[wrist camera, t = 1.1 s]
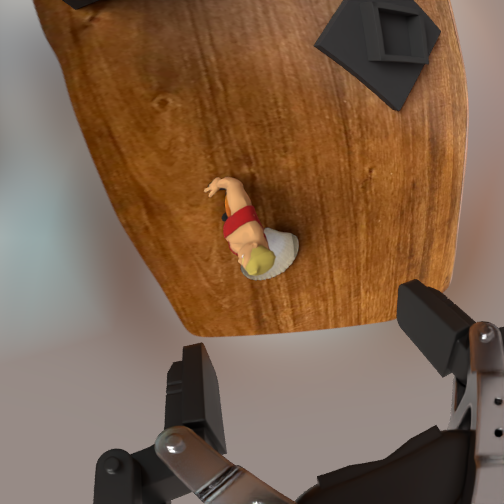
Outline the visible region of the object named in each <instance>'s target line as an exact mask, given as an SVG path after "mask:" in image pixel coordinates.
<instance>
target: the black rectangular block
mask: <svg viewBox="0 0 504 504" xmlns="http://www.w3.org/2000/svg"><path fill="white" fill-rule="evenodd" d="M63 1H64V2H65V3H67V4H68V5H70V6H71V7H72V8H74V9H75V10H76V9H78V8H81V7H83V6H86V5H88V4H91V3H93V2H96V1H99V0H63Z"/></svg>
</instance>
